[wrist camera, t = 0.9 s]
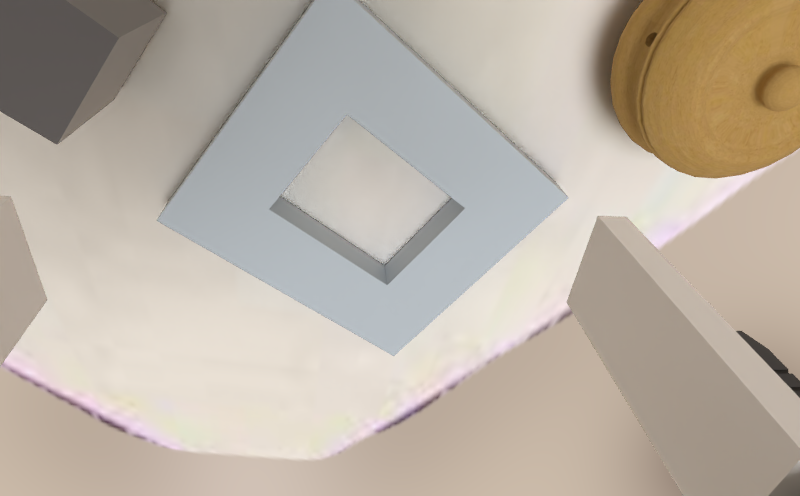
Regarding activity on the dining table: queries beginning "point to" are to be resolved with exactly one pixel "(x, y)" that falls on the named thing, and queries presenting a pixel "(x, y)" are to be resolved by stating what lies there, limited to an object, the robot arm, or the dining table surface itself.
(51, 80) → the plug
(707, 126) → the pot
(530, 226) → the socket plate
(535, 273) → the dining table surface
